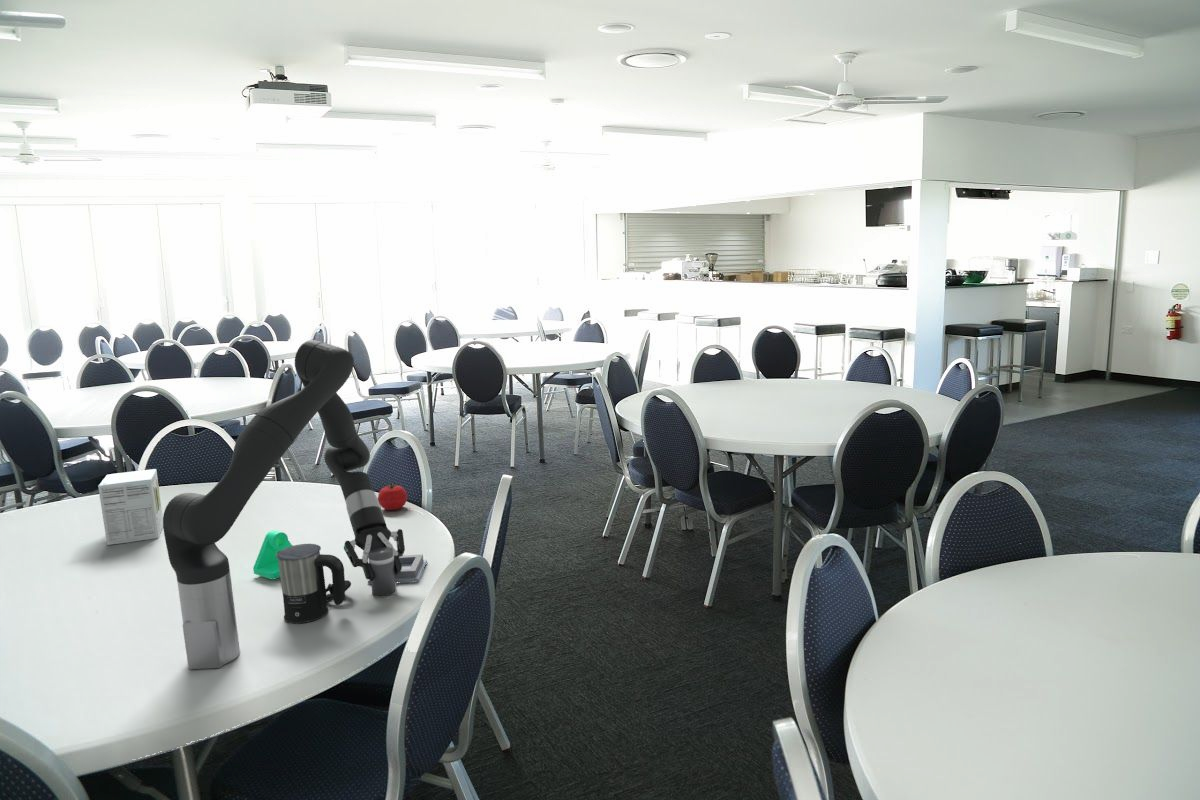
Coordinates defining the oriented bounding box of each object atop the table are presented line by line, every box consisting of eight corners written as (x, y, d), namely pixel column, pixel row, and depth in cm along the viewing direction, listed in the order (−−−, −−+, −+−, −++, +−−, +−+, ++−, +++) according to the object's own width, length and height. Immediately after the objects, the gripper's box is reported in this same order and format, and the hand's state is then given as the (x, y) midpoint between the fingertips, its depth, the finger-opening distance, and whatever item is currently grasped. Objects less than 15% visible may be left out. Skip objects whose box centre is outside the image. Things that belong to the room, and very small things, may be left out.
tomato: (378, 506, 253) (375, 481, 251) (407, 503, 255) (405, 478, 254) (379, 515, 245) (377, 489, 243) (409, 511, 247) (407, 486, 246)
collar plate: (418, 581, 194) (417, 571, 193) (367, 584, 193) (366, 574, 193) (427, 562, 205) (426, 553, 205) (379, 565, 205) (378, 555, 205)
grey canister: (393, 596, 186) (390, 554, 184) (369, 597, 186) (365, 556, 184) (398, 586, 191) (395, 546, 189) (374, 587, 191) (371, 547, 189)
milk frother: (280, 627, 173) (272, 561, 170) (289, 597, 188) (282, 536, 185) (350, 617, 176) (343, 552, 173) (353, 588, 191) (347, 528, 188)
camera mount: (273, 584, 196) (268, 543, 194) (254, 577, 200) (249, 538, 198) (315, 567, 206) (311, 528, 204) (296, 561, 210) (292, 523, 208)
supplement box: (159, 538, 231) (151, 479, 228) (106, 546, 227) (97, 485, 223) (165, 524, 243) (157, 468, 240) (114, 531, 239) (106, 474, 235)
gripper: (392, 515, 200) (412, 576, 193) (332, 527, 193) (351, 591, 185) (397, 499, 195) (418, 561, 187) (336, 511, 187) (356, 576, 180)
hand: (385, 576), depth 186 cm, fingers closed on grey canister, 5 cm apart
